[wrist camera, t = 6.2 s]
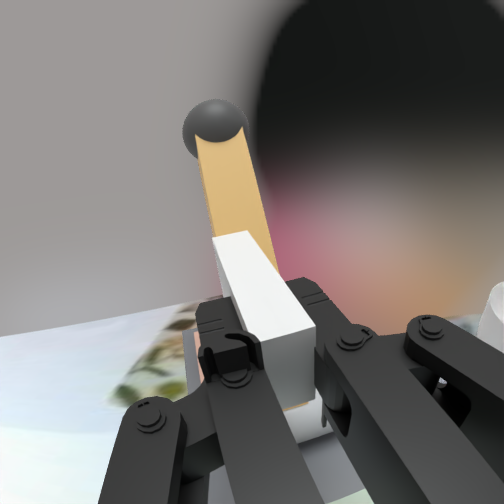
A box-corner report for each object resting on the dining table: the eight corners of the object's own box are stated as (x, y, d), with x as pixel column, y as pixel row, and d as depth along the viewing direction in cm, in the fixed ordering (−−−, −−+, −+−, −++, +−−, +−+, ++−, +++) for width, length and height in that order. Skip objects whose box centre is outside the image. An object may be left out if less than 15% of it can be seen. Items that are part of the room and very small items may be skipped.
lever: (329, 414, 16) (256, 114, 19) (354, 436, 13) (266, 80, 15) (230, 442, 16) (161, 130, 18) (235, 473, 12) (153, 97, 14)
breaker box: (301, 380, 31) (297, 299, 26) (405, 580, 9) (468, 562, 5) (207, 403, 29) (180, 327, 25) (266, 627, 8) (243, 649, 4)
